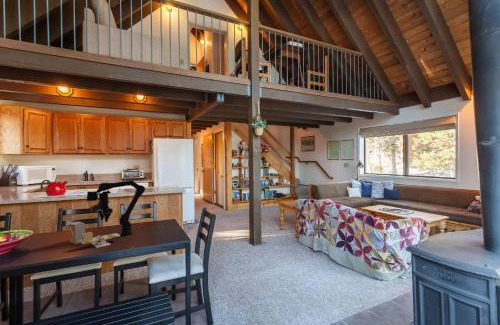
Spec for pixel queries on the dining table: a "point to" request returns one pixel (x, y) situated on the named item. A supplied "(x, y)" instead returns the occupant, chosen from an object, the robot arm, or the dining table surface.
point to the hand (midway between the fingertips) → (104, 221)
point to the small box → (76, 232)
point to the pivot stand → (100, 243)
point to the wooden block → (87, 236)
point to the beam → (101, 238)
